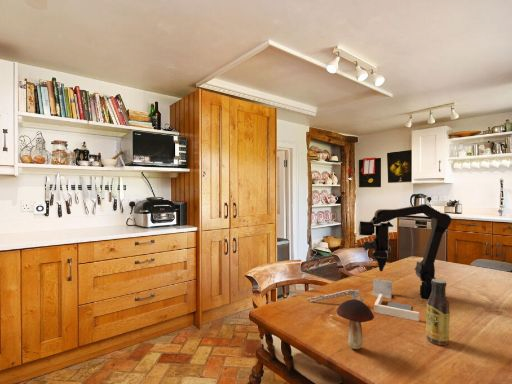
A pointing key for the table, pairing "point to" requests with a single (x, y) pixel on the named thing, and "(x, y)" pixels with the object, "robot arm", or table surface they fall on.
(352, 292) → the bracket
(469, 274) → the table surface
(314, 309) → the table surface
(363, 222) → the robot arm
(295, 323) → the table surface
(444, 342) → the sauce bottle
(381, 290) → the aluminium bracket
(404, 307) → the pad
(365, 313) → the decorative mushroom
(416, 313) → the white l-shaped block
